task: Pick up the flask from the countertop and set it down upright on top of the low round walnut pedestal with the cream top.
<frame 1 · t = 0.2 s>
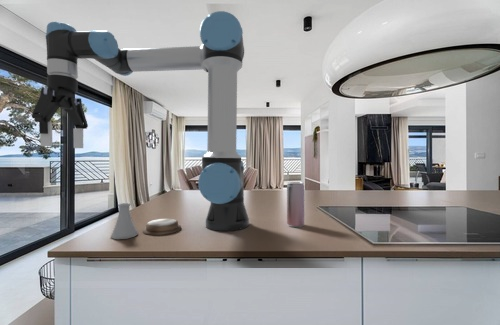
hand: (63, 147, 78), 27 cm above the table, fingers open, 13 cm apart
flask: (124, 237, 78), on the table
beverage can: (295, 225, 89), on the table
pedestal: (162, 229, 84), on the table
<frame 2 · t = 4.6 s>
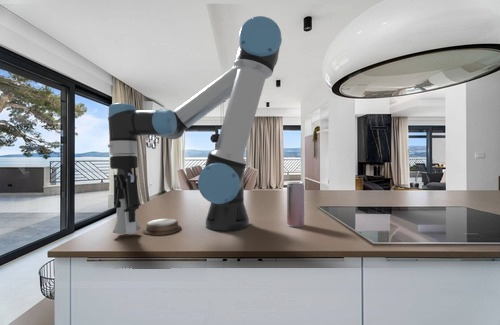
hand: (126, 230, 78), 2 cm above the table, fingers closed on flask, 7 cm apart
flask: (126, 231, 78), point 1 cm above the table, touching gripper
everything else where it was.
when the fingers open (3 cm above the table, at t = 9.2 s): flask stays where it is, resting on pedestal.
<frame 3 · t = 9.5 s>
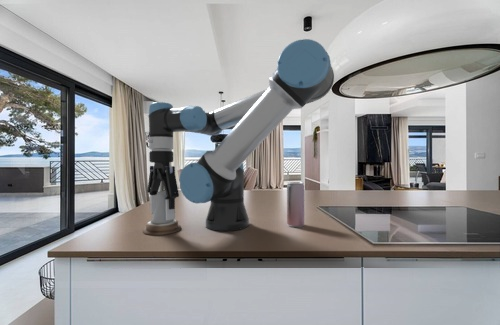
hand: (162, 216, 84), 4 cm above the table, fingers open, 11 cm apart
flask: (162, 222, 84), point 2 cm above the table, touching pedestal
everything else where it was.
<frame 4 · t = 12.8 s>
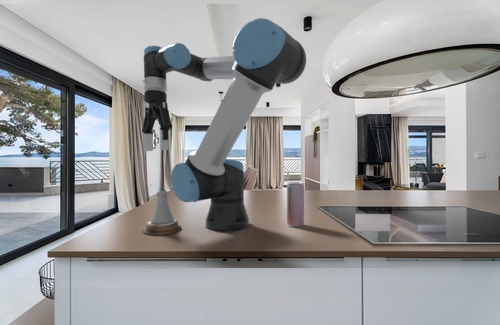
hand: (156, 150, 92), 27 cm above the table, fingers open, 13 cm apart
nothing on the table moved.
at the end: flask 0.1 cm from the pedestal (horizontally); flask touching pedestal; flask tilted 0° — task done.
